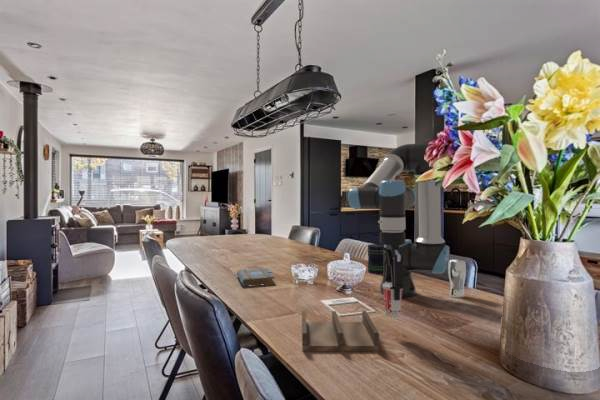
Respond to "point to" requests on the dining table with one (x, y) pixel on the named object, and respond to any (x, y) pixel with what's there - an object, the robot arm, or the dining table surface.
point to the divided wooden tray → (339, 335)
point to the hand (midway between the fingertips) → (392, 306)
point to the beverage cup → (389, 301)
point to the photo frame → (345, 301)
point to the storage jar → (375, 258)
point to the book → (255, 276)
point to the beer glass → (457, 277)
